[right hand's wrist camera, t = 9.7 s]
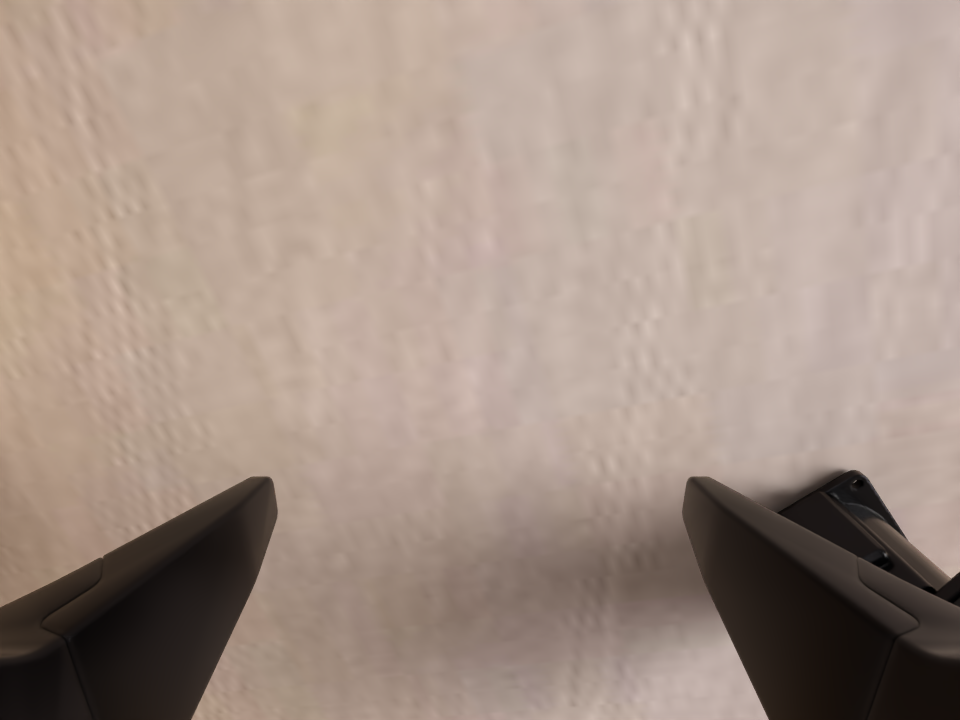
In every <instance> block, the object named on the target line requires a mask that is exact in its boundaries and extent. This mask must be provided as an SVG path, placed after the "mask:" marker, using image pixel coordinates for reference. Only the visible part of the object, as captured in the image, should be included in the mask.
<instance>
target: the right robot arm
mask: <svg viewBox="0 0 960 720" xmlns="http://www.w3.org/2000/svg"><path fill="white" fill-rule="evenodd" d="M855 480H857V481H856V482H855V483H854V484H852V483H853V482H854V481H855ZM277 513H278V510H277V503H276V496H275V490H274V484H273V481H272V479H271V478H270V477H250V478H248V479H246V480H244V481H243V482H241V483H239V484H237V485H235V486H233V487H231V488H229V489H228V490H226V491H224V492H222V493H220V494H218V495H216V496H214V497H213V498H211V499H209V500H207V501H205V502H203V503H201V504H199V505H198V506H196V507H194V508H192V509H190V510H188V511H186V512H185V513H183V514H181V515H179V516H177V517H175V518H173V519H171V520H170V521H168V522H166V523H164V524H162V525H160V526H158V527H156V528H155V529H153V530H151V531H149V532H147V533H145V534H143V535H141V536H140V537H138V538H136V539H134V540H132V541H130V542H128V543H126V544H125V545H123V546H121V547H119V548H117V549H115V550H113V551H112V552H110V553H108V554H106V555H104V557H103V558H98V559H96V560H94V561H93V562H91V563H89V564H87V565H85V566H83V567H81V568H80V569H78V570H76V571H74V572H72V573H70V574H68V575H66V576H64V577H62V578H60V579H58V580H56V581H54V582H52V583H50V584H48V585H46V586H44V587H42V588H40V589H38V590H36V591H34V592H32V593H30V594H28V595H25V596H23V597H21V598H19V599H17V600H15V601H13V602H11V603H9V604H6V605H4V606H2V607H0V720H191V719H192V717H193V715H194V712H195V710H196V708H197V706H198V704H199V702H200V700H201V697H202V695H203V693H204V691H205V689H206V687H207V685H208V683H209V680H210V678H211V676H212V674H213V672H214V670H215V668H216V666H217V663H218V661H219V659H220V657H221V655H222V653H223V651H224V648H225V646H226V644H227V642H228V640H229V638H230V636H231V634H232V631H233V629H234V627H235V625H236V623H237V621H238V619H239V617H240V614H241V612H242V610H243V608H244V606H245V604H246V602H247V599H248V597H249V595H250V593H251V591H252V589H253V586H254V584H255V582H256V579H257V576H258V574H259V571H260V568H261V565H262V562H263V559H264V556H265V553H266V550H267V547H268V544H269V541H270V538H271V535H272V532H273V529H274V526H275V523H276V520H277ZM682 513H683V520H684V523H685V526H686V529H687V532H688V535H689V538H690V541H691V544H692V547H693V550H694V553H695V556H696V559H697V562H698V565H699V568H700V571H701V574H702V576H703V579H704V582H705V584H706V586H707V589H708V591H709V593H710V595H711V597H712V600H713V602H714V604H715V606H716V608H717V610H718V612H719V614H720V617H721V619H722V621H723V623H724V625H725V627H726V629H727V631H728V634H729V636H730V638H731V640H732V642H733V644H734V646H735V649H736V651H737V653H738V655H739V657H740V659H741V661H742V663H743V666H744V668H745V670H746V672H747V674H748V676H749V678H750V680H751V683H752V685H753V687H754V689H755V691H756V693H757V695H758V697H759V700H760V702H761V704H762V706H763V708H764V710H765V712H766V715H767V717H768V719H769V720H960V572H959V573H958V574H957V575H955V576H954V577H953V578H952V579H951V578H950V577H949V576H947V575H946V574H945V573H944V572H943V571H942V570H941V569H939V568H938V567H937V566H936V565H935V564H934V563H933V562H931V561H930V560H929V559H928V558H927V557H926V556H925V555H923V554H922V553H921V552H920V551H919V550H918V549H917V548H915V547H914V546H913V545H912V544H911V543H910V542H909V541H908V540H907V538H906V537H905V535H904V534H903V532H902V531H901V529H900V528H899V526H898V524H897V523H896V521H895V520H894V518H893V517H892V515H891V514H890V512H889V510H888V509H887V507H886V506H885V504H884V503H883V501H882V500H881V498H880V497H879V495H878V493H877V492H876V490H875V489H874V487H873V486H872V484H871V483H870V481H869V480H868V478H867V477H866V476H864V475H863V474H862V473H861V472H859V471H857V470H851V471H848V472H846V473H844V474H843V475H841V476H839V477H838V478H836V479H834V480H833V481H831V482H829V483H827V484H826V485H824V486H822V487H821V488H819V489H817V490H816V491H814V492H812V493H810V494H809V495H807V496H805V497H804V498H802V499H800V500H799V501H797V502H795V503H793V504H792V505H790V506H788V507H787V508H785V509H783V510H782V511H780V512H778V513H775V512H774V511H772V510H770V509H768V508H766V507H764V506H762V505H761V504H759V503H757V502H755V501H753V500H751V499H749V498H747V497H746V496H744V495H742V494H740V493H738V492H736V491H734V490H732V489H731V488H729V487H727V486H725V485H723V484H721V483H719V482H717V481H716V480H714V479H712V478H710V477H690V478H689V479H688V481H687V484H686V490H685V496H684V503H683V510H682Z"/></svg>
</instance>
